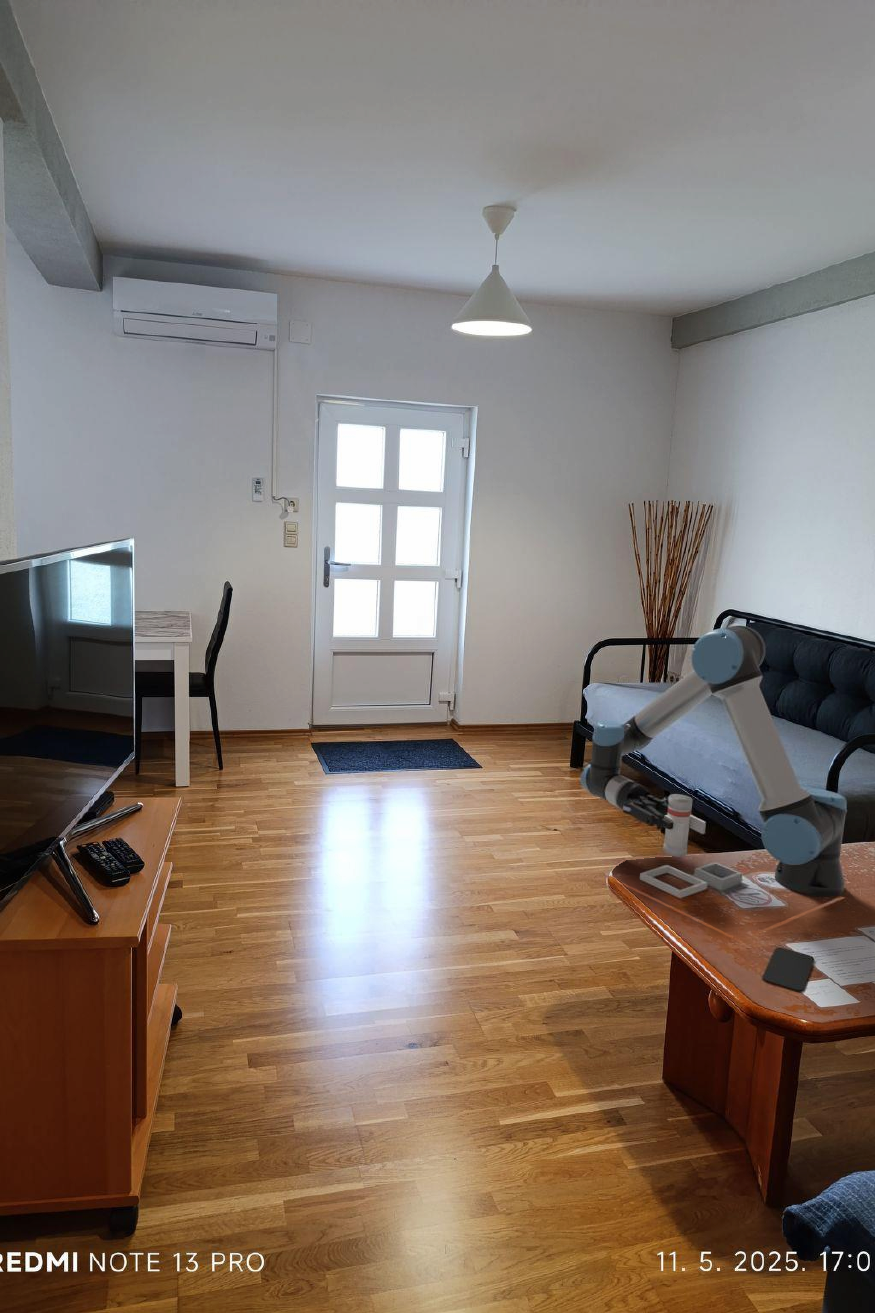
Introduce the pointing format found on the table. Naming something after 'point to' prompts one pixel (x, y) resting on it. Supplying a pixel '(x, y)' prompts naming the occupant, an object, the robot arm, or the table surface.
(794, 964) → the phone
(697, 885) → the grey rectangular frame
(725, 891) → the box
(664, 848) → the cylinder
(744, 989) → the table surface
